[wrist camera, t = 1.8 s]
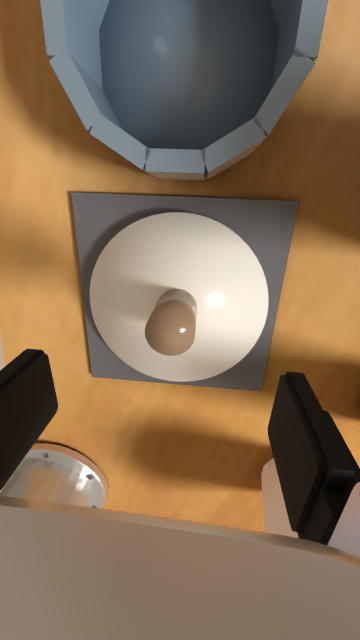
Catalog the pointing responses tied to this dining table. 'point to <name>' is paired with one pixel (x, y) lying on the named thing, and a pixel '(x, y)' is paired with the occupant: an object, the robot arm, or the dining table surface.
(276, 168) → the dining table surface
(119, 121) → the bowl
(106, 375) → the mat
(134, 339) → the lid
